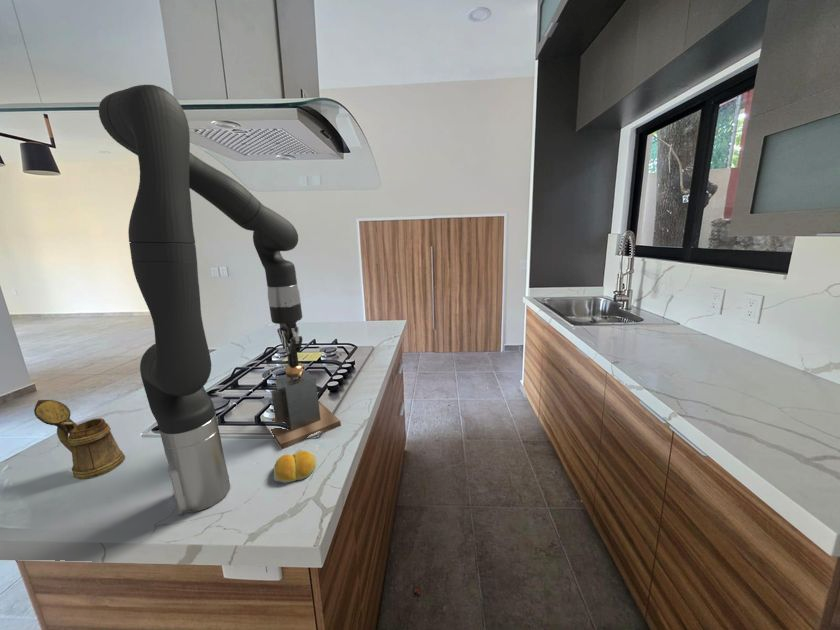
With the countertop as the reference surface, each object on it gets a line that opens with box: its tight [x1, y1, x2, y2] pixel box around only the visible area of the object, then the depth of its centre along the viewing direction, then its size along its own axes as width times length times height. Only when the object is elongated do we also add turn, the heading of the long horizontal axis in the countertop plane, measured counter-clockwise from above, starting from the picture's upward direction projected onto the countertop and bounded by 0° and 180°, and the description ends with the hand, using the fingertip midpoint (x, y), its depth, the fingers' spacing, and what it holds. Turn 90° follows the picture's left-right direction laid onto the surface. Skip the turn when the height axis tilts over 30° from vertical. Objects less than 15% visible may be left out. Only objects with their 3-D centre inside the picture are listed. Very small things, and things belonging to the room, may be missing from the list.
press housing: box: [270, 368, 321, 431], centre depth 93 cm, size 10×8×13 cm
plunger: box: [284, 362, 304, 380], centre depth 93 cm, size 6×6×14 cm
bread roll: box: [273, 450, 317, 484], centre depth 77 cm, size 8×9×4 cm
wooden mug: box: [33, 399, 126, 480], centre depth 79 cm, size 9×14×18 cm, turn 93°
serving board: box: [271, 400, 342, 450], centre depth 96 cm, size 16×16×2 cm
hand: (293, 365), depth 91 cm, fingers closed
